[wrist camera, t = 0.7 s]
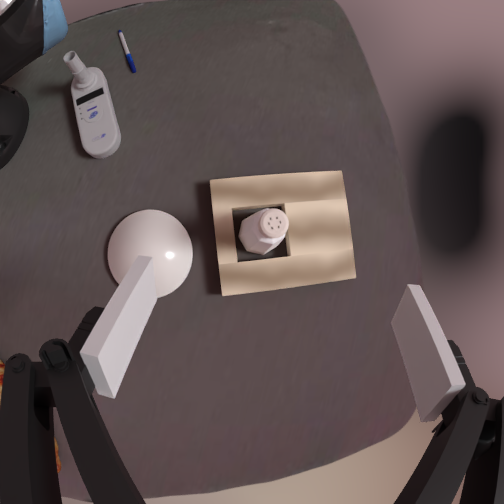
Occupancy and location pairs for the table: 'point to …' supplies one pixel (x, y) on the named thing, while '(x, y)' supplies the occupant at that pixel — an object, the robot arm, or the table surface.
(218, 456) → the table surface
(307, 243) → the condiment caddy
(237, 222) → the table surface
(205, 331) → the table surface
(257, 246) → the pepper shaker
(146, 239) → the saucer
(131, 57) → the ballpoint pen
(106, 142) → the electronic device
